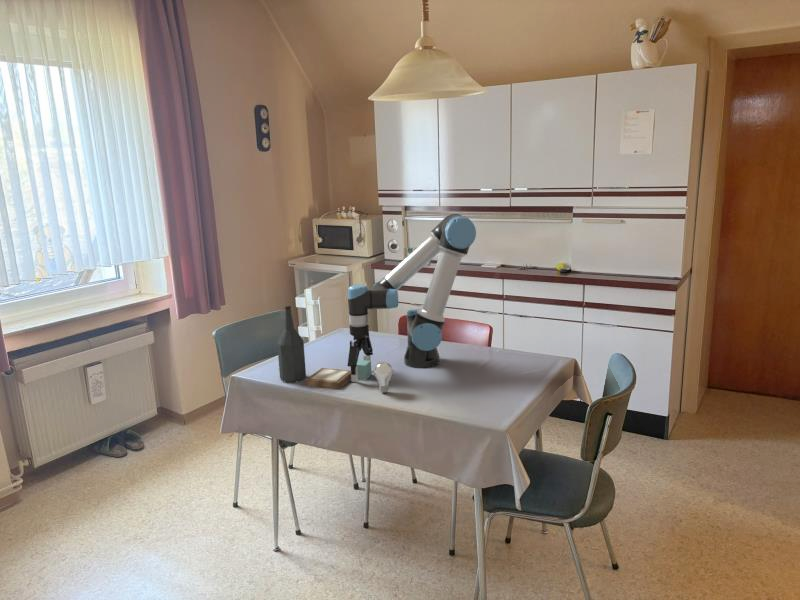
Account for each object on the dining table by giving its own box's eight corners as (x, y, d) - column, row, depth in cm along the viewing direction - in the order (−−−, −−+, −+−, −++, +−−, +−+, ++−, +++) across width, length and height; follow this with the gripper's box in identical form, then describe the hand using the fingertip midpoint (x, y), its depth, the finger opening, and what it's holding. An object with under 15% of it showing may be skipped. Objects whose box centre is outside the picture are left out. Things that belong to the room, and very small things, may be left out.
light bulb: (378, 397, 222) (377, 366, 219) (371, 391, 228) (370, 360, 225) (396, 394, 224) (395, 363, 222) (389, 388, 231) (387, 357, 228)
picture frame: (353, 376, 244) (353, 370, 244) (338, 389, 231) (338, 382, 231) (322, 373, 249) (322, 367, 248) (306, 385, 236) (305, 379, 235)
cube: (371, 374, 246) (370, 360, 245) (365, 380, 240) (365, 365, 239) (357, 373, 248) (357, 359, 247) (351, 378, 242) (351, 364, 241)
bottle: (297, 384, 238) (291, 309, 232) (275, 381, 242) (269, 308, 235) (310, 375, 248) (305, 303, 241) (289, 373, 251) (283, 302, 244)
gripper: (362, 316, 252) (364, 365, 257) (336, 332, 229) (339, 385, 234) (379, 317, 249) (381, 367, 254) (355, 333, 227) (357, 387, 232)
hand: (361, 376), depth 244 cm, fingers open, 12 cm apart
